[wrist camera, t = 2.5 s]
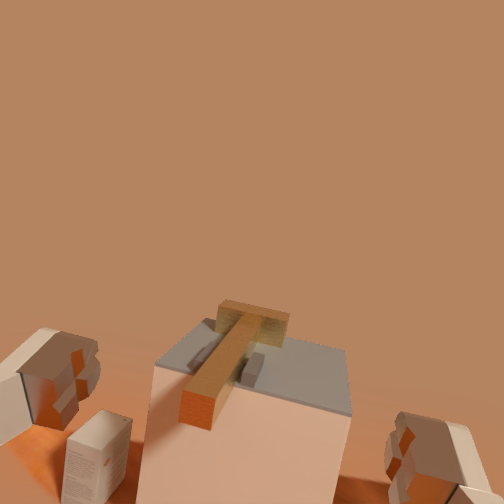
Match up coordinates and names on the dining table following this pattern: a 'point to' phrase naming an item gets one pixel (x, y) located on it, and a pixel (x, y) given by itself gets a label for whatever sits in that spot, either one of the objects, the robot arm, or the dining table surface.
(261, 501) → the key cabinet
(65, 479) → the small box
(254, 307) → the wooden t-shaped block
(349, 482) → the dining table surface
